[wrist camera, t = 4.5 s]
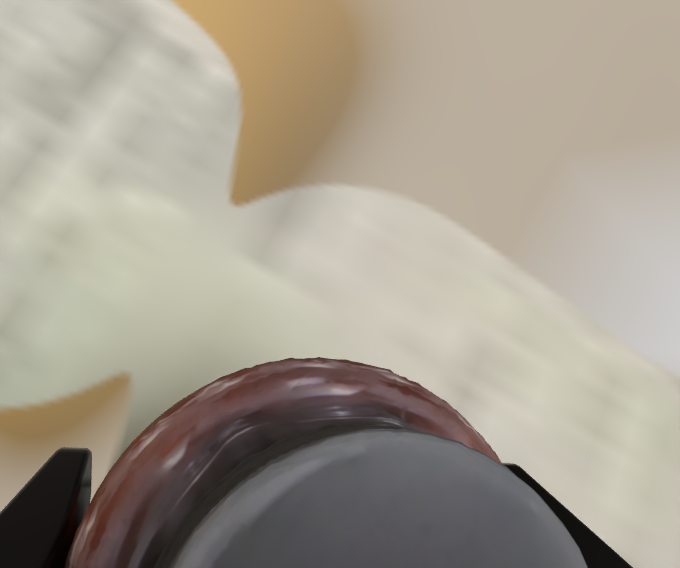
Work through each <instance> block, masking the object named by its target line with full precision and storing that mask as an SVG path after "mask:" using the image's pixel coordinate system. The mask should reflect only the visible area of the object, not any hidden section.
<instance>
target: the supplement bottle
mask: <svg viewBox="0 0 680 568" xmlns="http://www.w3.org/2000/svg"><path fill="white" fill-rule="evenodd" d="M65 568H587V565H586V563H585V560H584V558H583V556H582V553H581V551H580V549H579V547H578V546H577V544H576V543H575V541H574V540H573V538H572V537H571V535H570V533H569V532H568V530H567V529H566V527H565V526H564V524H563V523H562V522H561V520H560V519H559V518H558V517H557V516H556V515H555V513H554V512H553V511H552V510H551V509H550V507H549V506H548V505H547V504H546V503H545V502H544V500H543V499H542V498H541V497H540V496H539V495H538V494H537V493H536V492H535V491H534V490H533V489H532V488H531V487H530V486H529V485H527V484H526V483H525V482H524V481H522V480H521V479H520V478H518V477H517V476H516V475H515V474H514V473H513V472H512V471H510V470H509V469H508V468H507V467H506V466H505V465H502V463H501V461H500V460H499V458H498V456H497V455H496V453H495V452H494V451H493V450H492V448H491V446H490V445H489V444H488V443H487V442H486V441H485V439H484V438H483V437H482V436H481V435H480V434H479V433H478V432H477V431H476V430H475V429H474V428H473V427H472V426H471V425H470V424H469V422H468V421H467V420H466V419H465V418H464V417H463V416H462V415H461V414H460V413H459V412H458V411H457V410H455V409H453V408H452V407H451V406H450V405H449V404H448V403H447V402H446V401H445V400H443V399H440V398H439V397H438V396H436V395H435V394H433V393H432V392H430V391H428V390H427V389H425V388H424V387H422V386H421V385H420V384H418V383H416V382H413V381H410V380H408V379H407V378H405V377H401V376H399V375H397V374H394V373H393V372H392V371H391V370H389V369H384V368H379V367H375V366H371V365H367V364H363V363H358V362H352V361H349V360H336V359H327V358H320V357H318V358H306V359H294V358H288V359H284V360H280V361H275V362H267V363H264V364H260V365H256V366H254V367H252V368H245V369H242V370H239V371H237V372H235V373H232V374H229V375H226V376H223V377H221V378H219V379H217V380H215V381H214V382H212V383H210V384H208V385H206V386H204V387H202V388H200V389H199V390H197V391H195V392H194V393H192V394H191V395H189V396H187V397H186V398H184V399H182V400H181V401H179V402H178V403H176V404H175V405H174V406H172V407H171V408H169V409H168V410H167V411H166V412H164V413H163V414H162V415H161V416H159V417H158V418H157V419H156V420H155V421H154V422H152V423H151V424H150V425H149V426H148V427H147V428H146V429H145V430H144V431H143V432H142V433H141V434H140V435H139V436H138V437H137V438H136V439H135V440H134V441H133V442H132V443H131V444H130V446H129V447H128V448H127V449H126V450H125V451H124V453H123V454H122V455H121V457H120V458H119V459H118V460H117V462H116V463H115V464H114V466H113V467H112V468H111V470H110V471H109V472H108V474H107V476H106V477H105V479H104V480H103V482H102V484H101V485H100V487H99V488H98V490H97V491H96V494H95V495H94V497H93V499H92V501H91V503H90V504H89V506H88V508H87V510H86V513H85V515H84V517H83V520H82V522H81V524H80V525H79V527H78V528H77V530H76V533H75V537H74V540H73V542H72V545H71V547H70V550H69V552H68V555H67V559H66V563H65Z"/></svg>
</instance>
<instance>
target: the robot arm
mask: <svg viewBox="0 0 680 568" xmlns="http://www.w3.org/2000/svg"><path fill="white" fill-rule="evenodd" d="M502 465H505V466H506V467H507V468H508V469H509V470H510V471H512V472H513V473H514V474H515V475H516V476H517V477H518V478H520V479H521V480H522V481H524V482H525V483H526V484H527V485H529V486H530V487H531V488H532V489H533V490H534V491H535V492H536V493H537V494H538V495H539V496H540V497H541V498H542V499H543V500H544V502H545V503H546V504H547V505H548V506H549V507H550V509H551V510H552V511H553V512H554V513H555V515H556V516H557V517H558V518H559V519H560V520H561V522H562V523H563V524H564V526H565V527H566V529H567V530H568V532H569V533H570V535H571V537H572V538H573V540H574V541H575V543H576V544H577V546H578V547H579V549H580V551H581V553H582V556H583V558H584V560H585V563H586V565H587V568H633V567H632V566H630V565H629V564H628V563H627V562H626V561H625V560H624V559H623V558H621V557H620V556H619V555H618V554H617V553H616V552H615V551H614V550H613V549H611V548H610V547H609V546H608V545H607V544H606V543H605V542H604V541H602V540H601V539H600V538H599V537H598V536H597V535H596V534H595V533H594V532H592V531H591V530H590V529H589V528H588V527H587V526H586V525H585V524H583V523H582V522H581V521H580V520H579V519H578V518H577V517H576V516H574V515H573V514H572V513H571V512H570V511H569V510H568V509H567V508H566V507H564V506H563V505H562V504H561V503H560V502H559V501H558V500H557V499H555V498H554V497H553V496H552V495H551V494H550V493H549V492H548V491H546V490H545V489H544V488H543V487H542V486H541V485H540V484H539V483H538V482H536V481H535V480H534V479H533V478H532V477H531V476H530V475H529V474H527V473H526V472H525V471H524V470H523V469H522V468H521V467H519V466H518V465H516V464H511V463H502ZM91 469H92V453H91V451H90V450H89V449H87V448H66V447H63V448H60V449H58V450H57V451H56V452H55V453H54V454H53V455H52V456H51V457H50V458H49V460H48V461H47V462H46V463H45V464H44V465H43V466H42V467H41V468H40V469H39V471H38V472H37V473H36V474H35V475H34V476H33V477H32V478H31V479H30V481H29V482H28V483H27V484H26V485H25V486H24V487H23V488H22V489H21V490H20V491H19V493H18V494H17V495H16V496H15V497H14V498H13V499H12V500H11V501H10V502H9V504H8V505H7V506H6V507H5V508H4V509H3V510H2V511H1V513H0V568H65V563H66V559H67V555H68V552H69V550H70V547H71V545H72V542H73V540H74V537H75V533H76V530H77V528H78V527H79V525H80V524H81V522H82V520H83V517H84V515H85V513H86V510H87V508H88V506H89V504H90V497H91Z"/></svg>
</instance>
